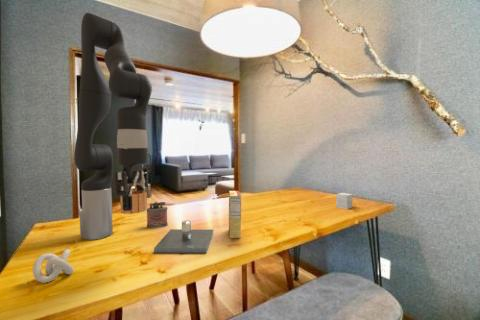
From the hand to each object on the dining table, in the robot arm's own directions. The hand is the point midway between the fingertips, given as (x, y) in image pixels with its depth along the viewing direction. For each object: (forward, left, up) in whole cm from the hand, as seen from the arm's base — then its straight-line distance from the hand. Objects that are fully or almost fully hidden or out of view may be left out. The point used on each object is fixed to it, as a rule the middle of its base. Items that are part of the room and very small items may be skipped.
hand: (134, 206), depth 64 cm
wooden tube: (0, 0, -1) cm, 1 cm away
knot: (-16, -8, -16) cm, 24 cm away
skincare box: (+84, +59, -16) cm, 104 cm away
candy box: (+27, +21, -16) cm, 38 cm away
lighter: (-5, +29, -16) cm, 34 cm away
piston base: (+11, +13, -16) cm, 23 cm away
